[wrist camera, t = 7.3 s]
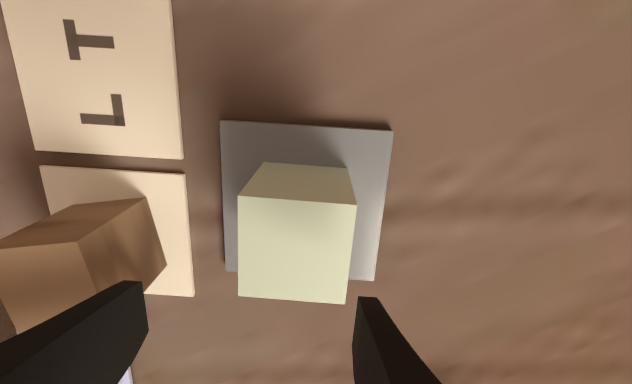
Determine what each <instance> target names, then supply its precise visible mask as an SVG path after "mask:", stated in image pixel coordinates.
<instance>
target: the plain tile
mask: <svg viewBox="0 0 632 384" xmlns="http://www.w3.org/2000/svg"><path fill="white" fill-rule="evenodd" d="M39 169H40V173H41V177H42V181H43V186H44V190H45V194H46V198H47V203H48V207H49V211H50V215H52V214H54V213H56V212H58V211H61V210H63V209H65V208H67V207H69V206H71V205H75V204H85V203H94V202H104V201H114V200H123V199H133V198H142V197H147V200H148V204H149V207H150V210H151V213H152V217H153V220H154V223H155V226H156V230H157V233H158V236H159V239H160V243H161V246H162V249H163V252H164V256H165V259H166V262H167V266H166V267H165V269H164V270H163V271H162V272H161V273H160V274H159V276H158V277H157V278H156V279H155V280H154V281H153V282H152V284H151V285H150V286H149V287H148V288H147V289H146V291H145V292H144V294H158V295H173V296H188V297H193V296H194V295H195V290H194V278H193V265H192V253H191V240H190V228H189V215H188V203H187V191H186V178H185V174H178V173H162V172H146V171H131V170H115V169H99V168H83V167H67V166H52V165H41V166H39Z"/></svg>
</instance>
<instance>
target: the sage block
mask: <svg viewBox="0 0 632 384" xmlns="http://www.w3.org/2000/svg"><path fill="white" fill-rule="evenodd" d="M356 211H357V202H356V199H355V195H354V191H353V187H352V183H351V179H350V175H349V171H348V168H337V167H324V166H311V165H299V164H286V163H273V162H263V164H262V165H261V166H260V168H259V169H258V170H257V171H256V173H255V174H254V175H253V177H252V178H251V179H250V180H249V182H248V183H247V184H246V186H245V187H244V188H243V189H242V191H241V192H240V193H239V195H238V296H246V297H258V298H271V299H283V300H296V301H308V302H321V303H333V304H345V299H346V291H347V283H348V275H349V267H350V259H351V251H352V243H353V235H354V227H355V219H356Z"/></svg>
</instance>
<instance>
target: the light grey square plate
mask: <svg viewBox="0 0 632 384" xmlns="http://www.w3.org/2000/svg"><path fill="white" fill-rule="evenodd" d="M219 122H220V146H221V170H222V194H223V219H224V243H225V267H226V271H230V272H238V195H239V193H240V192H241V191H242V189H243V188H244V187H245V186H246V184H247V183H248V182H249V180H250V179H251V178H252V177H253V175H254V174H255V173H256V171H257V170H258V169H259V168H260V166H261V165H262V164H263V162H273V163H286V164H299V165H311V166H324V167H337V168H348V171H349V175H350V179H351V183H352V187H353V191H354V195H355V199H356V202H357V211H356V219H355V227H354V235H353V243H352V251H351V259H350V267H349V275H348V279H352V280H367V281H374V274H375V267H376V259H377V252H378V245H379V237H380V230H381V223H382V216H383V208H384V201H385V194H386V186H387V179H388V172H389V164H390V157H391V150H392V142H393V135H394V131H392V130H383V129H366V128H350V127H334V126H318V125H302V124H285V123H269V122H253V121H237V120H220V121H219Z"/></svg>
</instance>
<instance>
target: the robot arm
mask: <svg viewBox="0 0 632 384" xmlns="http://www.w3.org/2000/svg"><path fill="white" fill-rule="evenodd" d="M148 331H149V329H148V322H147V314H146V307H145V300H144V292H143V285H142V281H130V280H123V281H121V282H119V283H116V284H114V285H112V286H110V287H108V288H106V289H105V290H103V291H101V292H99V293H97V294H95V295H93V296H91V297H89V298H88V299H86V300H84V301H82V302H80V303H78V304H76V305H75V306H73V307H71V308H69V309H67V310H65V311H63V312H61V313H60V314H58V315H56V316H54V317H52V318H50V319H48V320H46V321H44V322H42V323H40V324H38V325H36V326H34V327H32V328H30V329H28V330H26V331H24V332H22V333H20V334H18V332H17V330H16V333H17V335H16V336H14V337H12V338H10V339H8V340H6V341H4V342H2V343H0V384H133V380H132V375H131V369H130V365H131V364H132V362H133V360H134V359H135V357H136V355H137V353H138V351H139V349H140V347H141V345H142V343H143V341H144V339H145V337H146V335H147V333H148ZM352 353H353V371H354V381H355V384H442V383H441V382H440V381H439V380H438V379H437V378H436V376H435V375H434V374H433V373H432V372H431V371H430V369H429V368H428V367H427V366H426V365H425V363H424V362H423V361H422V360H421V359H420V357H419V356H418V355H417V353H416V352H415V351H414V350H413V348H412V347H411V346H410V344H409V343H408V342H407V340H406V339H405V338H404V336H403V335H402V334H401V332H400V331H399V329H398V328H397V327H396V325H395V324H394V322H393V321H392V319H391V318H390V316H389V315H388V313H387V312H386V310H385V309H384V307H383V306H382V304H381V302H380V301H379V300H378V299H377V298H376V297H362V296H358V302H357V310H356V318H355V326H354V334H353V342H352Z"/></svg>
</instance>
